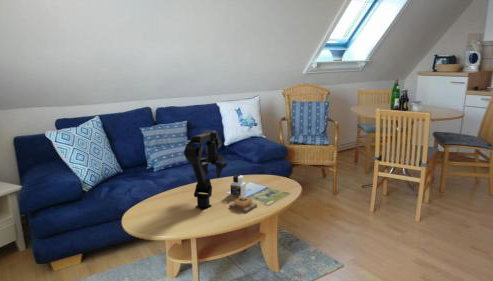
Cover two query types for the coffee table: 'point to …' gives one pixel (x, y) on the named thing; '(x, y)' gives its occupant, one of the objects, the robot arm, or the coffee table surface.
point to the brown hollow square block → (243, 204)
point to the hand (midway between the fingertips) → (212, 176)
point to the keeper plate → (243, 208)
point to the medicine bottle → (238, 186)
